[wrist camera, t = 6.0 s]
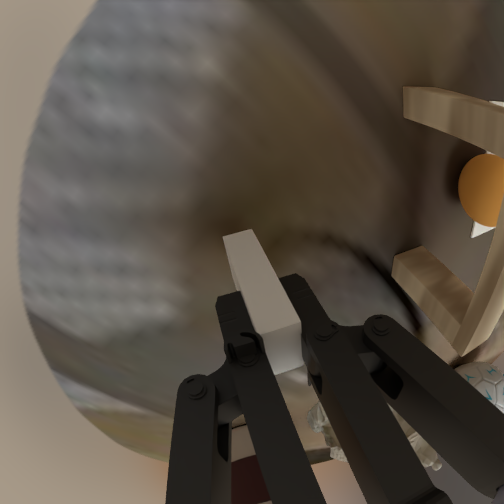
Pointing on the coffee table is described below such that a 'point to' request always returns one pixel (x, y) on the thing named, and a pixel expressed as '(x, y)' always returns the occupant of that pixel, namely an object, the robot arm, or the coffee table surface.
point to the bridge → (427, 265)
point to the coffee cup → (246, 471)
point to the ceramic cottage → (420, 446)
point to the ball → (482, 188)
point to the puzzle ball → (485, 381)
